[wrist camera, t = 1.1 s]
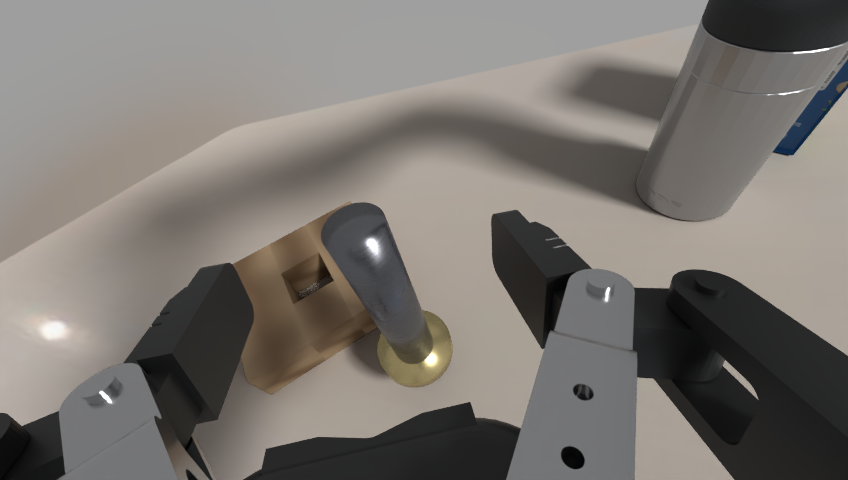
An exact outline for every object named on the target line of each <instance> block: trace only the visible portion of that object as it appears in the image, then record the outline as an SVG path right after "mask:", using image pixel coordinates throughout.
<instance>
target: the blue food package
mask: <svg viewBox="0 0 848 480" xmlns="http://www.w3.org/2000/svg"><path fill="white" fill-rule="evenodd" d="M847 88H848V51H847V52H846V54H845V55H844V56H843V58H842V59H841V60H840V62H839V63H838V64H837V66H836V67H835V68H834V70H833V71H832V72H831V74H830V75H829V76H828V78H827V80H826V81H825V82H824V84H823V85H822V86H821V88H820V89H819V90H818V92H817V93H816V94H815V96H814V97H813V98H812V100H811V101H810V102H809V104H808V105H807V106H806V108H805V109H804V110H803V112H802V113H801V114H800V116H799V117H798V118H797V120H796V121H795V122H794V124H793V125H792V126H791V128H790V129H789V130H788V132H787V133H786V134H785V136H784V137H783V138H782V140H781V141H780V143H779V144H778V145H777V147H776V148H775V149H774V151H775V152H779V153H783V154H788V155H794V153H795V152H796V151H797V150H798V149H799V147H800V146H801V145H802V144H803V142H804V141H805V140H806V139H807V137H808V136H809V135H810V134H811V132H812V131H813V130H814V129H815V128H816V126H817V125H818V124H819V123H820V121H821V120H822V119H823V118H824V116H825V115H826V114H827V113H828V112H829V110H830V109H831V108H832V107H833V105H834V104H835V103H836V102H837V100H838V99H839V98H840V97H841V96H842V94H843V93H844V92H845V91H846V89H847Z"/></svg>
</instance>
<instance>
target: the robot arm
mask: <svg viewBox="0 0 848 480" xmlns="http://www.w3.org/2000/svg"><path fill="white" fill-rule="evenodd" d="M847 51H848V0H709V1H708V4H707V6H706V9H705V12H704V14H703V16H702V19H701V21H700V24H699V26H698V29H697V31H696V34H695V36H694V39H693V41H692V44H691V46H690V49H689V51H688V54H687V57H686V59H685V62H684V64H683V66H682V69H681V71H680V74H679V76H678V79H677V81H676V84H675V86H674V89H673V91H672V94H671V96H670V99H669V101H668V104H667V106H666V109H665V111H664V114H663V116H662V119H661V121H660V124H659V126H658V128H657V131H656V133H655V136H654V138H653V141H652V143H651V146H650V148H649V151H648V153H647V156H646V158H645V160H644V163H643V165H642V168H641V170H640V173H639V175H638V178H637V181H636V188H637V192H638V194H639V196H640V197H641V199H642V200H643V201H644V202H645V203H646V204H647V205H648V206H650V207H651V208H652V209H654V210H656V211H658V212H660V213H661V214H664V215H667V216H669V217H672V218H676V219H681V220H689V221H703V220H709V219H714V218H716V217H719V216H721V215H723V214H724V213H726V212H727V211H728V210H729V209H730V208H731V206H732V205H733V204H734V202H735V201H736V200H737V198H738V197H739V196H740V194H741V193H742V192H743V190H744V189H745V188H746V186H747V185H748V184H749V182H750V181H751V180H752V179H753V177H754V176H755V175H756V173H757V172H758V171H759V169H760V168H761V167H762V165H763V164H764V163H765V161H766V160H767V159H768V157H769V156H770V155H771V153H772V152H773V151H774V149H775V148H776V147H777V145H778V144H779V143H780V141H781V140H782V138H783V137H784V136H785V134H786V133H787V132H788V130H789V129H790V128H791V126H792V125H793V124H794V122H795V121H796V120H797V118H798V117H799V116H800V114H801V113H802V112H803V110H804V109H805V108H806V106H807V105H808V104H809V102H810V101H811V100H812V98H813V97H814V96H815V94H816V93H817V92H818V90H819V89H820V88H821V86H822V85H823V84H824V82H825V81H826V80H827V78H828V76H829V75H830V74H831V72H832V71H833V70H834V68H835V67H836V66H837V64H838V63H839V62H840V60H841V59H842V58H843V56H844V55H845V54H846V52H847ZM491 226H492V258H493V264H494V268H495V271H496V273H497V275H498V277H499V279H500V280H501V282H502V284H503V285H504V287H505V289H506V290H507V292H508V294H509V295H510V297H511V299H512V300H513V302H514V304H515V305H516V307H517V308H518V310H519V312H520V313H521V315H522V317H523V318H524V320H525V322H526V323H527V325H528V327H529V328H530V330H531V332H532V333H533V335H534V337H535V338H536V340H537V342H538V343H539V345H540V347H541V348H542V349H544V348H545V349H544V352H543V356H542V359H541V362H540V366H539V369H538V373H537V376H536V379H535V383H534V386H533V390H532V393H531V397H530V400H529V403H528V407H527V410H526V414H525V417H524V420H523V424H522V427H521V428H518V427H516V426H513V425H511V424H508V423H505V422H501V421H498V420H493V419H486V418H475V416H474V412H473V409H472V406H471V403H470V402H468V403H464V404H460V405H455V406H451V407H447V408H442V409H438V410H434V411H429V412H425V413H421V414H419V415H417V416H415V417H413V418H411V419H409V420H407V421H405V422H403V423H401V424H399V425H397V426H395V427H393V428H391V429H389V430H387V431H385V432H383V433H381V434H379V435H377V436H375V437H372V438H334V437H316V438H312V439H308V440H303V441H299V442H294V443H290V444H286V445H281V446H277V447H273V448H268V449H266V452H265V456H264V461H263V465H262V469H261V470H259V471H257V472H255V473H253V474H252V475H250V476H248V477H247V478H245V479H244V480H634V477H635V436H636V396H637V377H639V378H654V380H655V381H656V382H657V383H658V385H659V386H660V387H661V388H662V390H663V391H664V392H665V393H666V395H667V396H668V397H669V398H670V400H671V401H672V402H673V403H674V405H675V406H676V407H677V408H678V410H679V411H680V412H681V413H682V415H683V416H684V417H685V418H686V420H687V421H688V422H689V423H690V425H691V426H692V427H693V428H694V430H695V431H696V432H697V433H698V435H699V436H700V437H701V438H702V440H703V441H704V442H705V443H706V445H707V446H708V447H709V448H710V450H711V451H712V452H713V453H714V455H715V456H716V457H717V458H718V460H719V461H720V462H721V463H722V465H723V466H724V467H725V468H726V470H727V471H728V472H729V473H730V475H731V476H732V477H733V478H734V480H848V356H847V355H845V354H844V353H843V352H841V351H840V350H838V349H837V348H835V347H834V346H832V345H831V344H829V343H828V342H826V341H825V340H823V339H822V338H820V337H819V336H818V335H816V334H815V333H813V332H812V331H810V330H809V329H807V328H806V327H804V326H803V325H801V324H800V323H798V322H797V321H796V320H794V319H793V318H791V317H790V316H788V315H787V314H785V313H784V312H782V311H781V310H779V309H778V308H776V307H775V306H773V305H772V304H771V303H769V302H768V301H766V300H765V299H763V298H762V297H760V296H759V295H757V294H756V293H754V292H753V291H751V290H750V289H748V288H747V287H746V286H744V285H743V284H741V283H740V282H738V281H736V280H734V279H732V278H730V277H728V276H725V275H723V274H719V273H716V272H712V271H706V270H685V271H681V272H678V273H677V274H675V275H674V276H673V278H672V281H671V285H670V288H669V289H663V288H634V287H633V285H632V284H631V283H630V282H629V281H628V280H627V279H626V278H624V277H623V276H621V275H619V274H617V273H614V272H611V271H607V270H602V269H592V268H591V267H590V266H589V265H588V264H587V263H586V262H585V261H583V260H582V259H581V258H580V257H579V256H578V255H577V254H576V253H575V252H574V251H573V250H572V249H571V248H570V247H569V246H567V245H566V243H565V242H564V241H563V240H562V239H559V236H558V235H556V234H555V233H554V232H553V231H552V230H551V229H550V228H549V227H546V226H544V225H542V224H540V223H537V222H532V223H529V222H528V221H527V220H526V219H525V218H524V217H523V215H522V214H521V213H520V212H519V211H518V210H513V211H507V212H502V213H497V214H493V215H492V220H491ZM253 322H254V310H253V305H252V303H251V300H250V298H249V296H248V294H247V292H246V290H245V288H244V286H243V284H242V281H241V279H240V277H239V275H238V273H237V271H236V269H235V267H234V266H233V265H232V264H230V263H225V264H219V265H214V266H208V267H203V268H201V269H200V270H199V271H198V272H197V274H196V275H195V277H194V278H193V279H192V281H191V282H190V284H189V285H188V287H186V288H184V289H183V290H182V291H180V292H179V293H178V294H177V295H175V296H174V297H173V298H172V299H170V300H169V302H168V303H167V304H166V306H165V307H164V308H163V310H162V311H161V313H160V316H158V317H157V318H156V319H155V321H154V322H153V324H152V327H150V328H149V329H148V330H147V332H146V333H145V335H144V336H143V337H142V339H141V340H140V341H139V343H138V344H137V345H136V347H135V348H134V350H133V351H132V352H131V354H130V355H129V356H128V358H127V359H126V361H125V362H124V363H123V364H119V365H116V366H113V367H110V368H107V369H105V370H103V371H101V372H99V373H97V374H95V375H94V376H92V377H90V378H89V379H87V380H86V381H84V382H83V383H82V384H80V385H79V386H78V387H77V388H76V389H74V390H73V391H72V392H71V393H70V394H69V395H68V397H67V398H66V399H65V400H64V402H63V403H62V405H61V407H60V410H59V411H58V412H55V413H53V414H50V415H48V416H46V417H43V418H41V419H38V420H36V421H34V422H31V423H29V424H26V425H24V426H21V425H20V424H19V423H17V422H16V421H15V420H14V419H13V418H12V417H10V416H9V415H8V414H5V413H0V480H216V478H215V476H214V474H213V472H212V470H211V468H210V466H209V464H208V462H207V459H206V457H205V455H204V453H203V451H202V449H201V447H200V445H199V443H198V441H197V440H196V438H195V437H194V436H193V435H192V433H193V430H194V428H195V426H196V424H199V423H203V422H208V421H213V420H217V419H218V417H219V414H220V411H221V408H222V406H223V403H224V400H225V398H226V395H227V392H228V390H229V387H230V384H231V382H232V379H233V376H234V373H235V371H236V368H237V365H238V363H239V360H240V357H241V355H242V352H243V349H244V347H245V344H246V341H247V338H248V336H249V333H250V330H251V328H252V325H253ZM725 360H726V361H727V362H728V363H729V364H730V365H732V366H733V367H734V368H735V369H736V370H737V371H738V372H739V373H740V374H741V375H742V376H743V377H744V378H745V379H746V380H747V381H748V382H749V383H750V384H751V385H752V387H753V388H754V390H755V392H756V393H757V396H758V399H759V400H758V399H756V398H755V397H754V396H753V395H752V394H751V393H750V392H749V391H748V390H747V389H746V388H745V387H744V386H743V385H742V384H741V383H740V382H739V381H738V380H737V379H736V378H735V377H734V376H733V375H731V374H730V373H729V372H728V371H727V370H726V369H725V368H724V367H723V363H724V361H725Z"/></svg>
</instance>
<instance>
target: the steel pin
mask: <svg viewBox="0 0 848 480" xmlns="http://www.w3.org/2000/svg"><path fill="white" fill-rule="evenodd" d="M321 240H322V243H323V245H324V247H325V248H326V250H327V251H328V253H329V254H330V256H331V257H332V259H333V260H334V262H335V263H336V265H337V266H338V268H339V269H340V271H341V272H342V274H343V275H344V277H345V278H346V280H347V281H348V283H349V284H350V286H351V287H352V289H353V290H354V292H355V293H356V295H357V296H358V298H359V299H360V301H361V302H362V304H363V305H364V307H365V309H366V310H367V312H368V313H369V315H370V316H371V318H372V319H373V321H374V322H375V324H376V325H377V327H378V328H379V330H380V331H381V335H380V337H379V341H378V347H377V353H378V358H379V362H380V364H381V366H382V368H383V369H384V371H385V372H386V373H387V374H388V375H389V377H390V378H391V379H392V380H394V381H395V382H397V383H398V384H400V385H403V386H406V387H423V386H426V385H429V384H431V383H433V382H434V381H436V380H437V379H438V378H440V377H441V376H442V375H443V374H444V372H445V371H446V370H447V368H448V366H449V364H450V361H451V358H452V352H453V346H452V340H451V337H450V334H449V331H448V328H447V326H446V325H445V323H444V322H443V321H442V320H441V319H440V318H439V317H438V316H436V315H435V314H433V313H430V312H428V311H423V310H422V309H421V307H420V304H419V302H418V299H417V296H416V294H415V291H414V289H413V286H412V284H411V281H410V279H409V276H408V273H407V271H406V268H405V266H404V263H403V261H402V258H401V256H400V253H399V250H398V248H397V245H396V243H395V240H394V238H393V235H392V233H391V230H390V227H389V225H388V222H387V220H386V217H385V215H384V213H383V211H382V210H381V209H380V208H379V207H377V206H376V205H373V204H370V203H353V204H350V205H347V206H344V207H342V208H340V209H339V210H337V211H336V212H334V213H333V214H332V215H331V216H330V217H329V218H328V219H327V220H326V222H325V223H324V225H323V227H322V231H321Z"/></svg>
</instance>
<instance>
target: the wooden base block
mask: <svg viewBox="0 0 848 480" xmlns="http://www.w3.org/2000/svg"><path fill="white" fill-rule="evenodd" d="M350 204H351V202H350V201H349V202H347V203H346V204H344V205H342V206H340V207H338V208H336V209H334V210H333V211H331V212H329V213H327V214H325V215H323V216H321V217H320V218H318V219H316V220H314V221H312V222H310V223H308V224H307V225H305V226H303V227H301V228H299V229H297V230H295V231H294V232H292V233H290V234H288V235H286V236H284V237H283V238H281V239H279V240H277V241H275V242H273V243H271V244H270V245H268V246H266V247H264V248H262V249H260V250H258V251H257V252H255V253H253V254H251V255H249V256H247V257H245V258H244V259H242V260H240V261H238V262H236V263H234V264H232V265H233V266H234V267H235V269H236V271H237V273H238V275H239V277H240V279H241V281H242V284H243V286H244V288H245V290H246V292H247V294H248V296H249V298H250V300H251V303H252V305H253V310H254V322H253V325H252V328H251V330H250V333H249V336H248V338H247V341H246V344H245V347H244V349H243V352H242V355H241V360H242V364H243V368H244V372H245V376H246V380H247V382H248V383H250V384H252V385H254V386H255V387H257V388H259V389H261V390H263V391H265V392H267V393H269V394H273V393H274V392H276V391H277V390H279V389H281V388H282V387H284V386H285V385H287V384H288V383H290V382H292V381H293V380H295V379H296V378H298V377H299V376H301V375H303V374H304V373H306V372H307V371H309V370H311V369H312V368H314V367H315V366H317V365H318V364H320V363H322V362H323V361H325V360H326V359H328V358H330V357H331V356H333V355H334V354H336V353H337V352H339V351H341V350H342V349H344V348H345V347H347V346H348V345H350V344H352V343H353V342H355V341H356V340H358V339H360V338H361V337H363V336H364V335H366V334H367V333H369V332H371V331H372V330H374V329H375V328H377V325H376V324H375V322H374V321H373V319H372V318H371V316H370V315H369V313H368V312H367V310H366V309H365V307H364V305H363V304H362V302H361V301H360V299H359V298H358V296H357V295H356V293H355V292H354V290H353V289H352V287H351V286H350V284H349V283H348V281H347V280H346V278H345V277H344V275H343V274H342V272H341V271H340V269H339V268H338V266H337V265H336V263H335V262H334V260H333V259H332V257H331V256H330V254H329V253H328V251H327V250H326V248H325V247H324V245H323V243H322V240H321V231H322V227H323V225H324V223H325V222H326V220H327V219H328V218H329V217H330V216H331V215H332V214H333V213H334V212H336V211H337V210H339V209H340V208H342V207H344V206H347V205H350ZM329 274H331V276H332V278H333V280H334V281H332V282H331V283H329V284H327V285H326V286H324V287H322V288H320V289H319V290H317V291H315V292H314V293H312V294H310V295H308V296H307V297H305V298H303V299H302V300H301V298H300V296H299V293H298V292H300V291H301V290H303V289H305V288H307V287H308V286H310V285H312V284H314V283H315V282H317V281H319V280H320V279H322V278H324V277H326V276H327V275H329Z"/></svg>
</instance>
